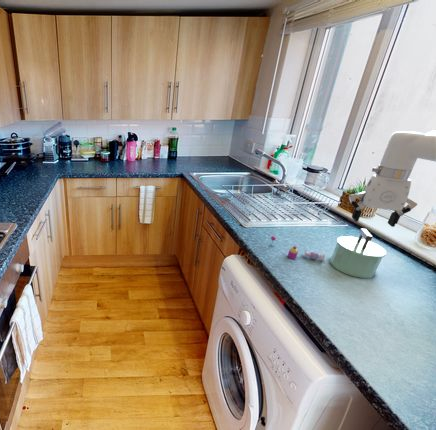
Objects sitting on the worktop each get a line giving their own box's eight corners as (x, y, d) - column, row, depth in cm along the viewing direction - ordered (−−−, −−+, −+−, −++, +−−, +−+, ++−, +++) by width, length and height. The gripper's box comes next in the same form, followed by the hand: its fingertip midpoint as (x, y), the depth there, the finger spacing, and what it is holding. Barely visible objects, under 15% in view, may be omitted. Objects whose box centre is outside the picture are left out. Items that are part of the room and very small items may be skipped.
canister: (366, 262, 107) (375, 242, 103) (379, 281, 96) (390, 260, 92) (326, 254, 111) (334, 235, 107) (335, 272, 100) (343, 251, 97)
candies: (320, 256, 110) (325, 242, 107) (323, 266, 103) (328, 252, 101) (268, 244, 117) (272, 231, 115) (268, 253, 111) (272, 239, 108)
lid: (375, 243, 104) (383, 227, 101) (392, 263, 92) (401, 246, 89) (331, 236, 108) (337, 220, 106) (341, 253, 97) (348, 237, 94)
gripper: (363, 172, 89) (344, 222, 96) (436, 179, 82) (411, 232, 89) (355, 167, 95) (338, 214, 102) (422, 172, 89) (400, 222, 96)
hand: (372, 222), depth 96 cm, fingers open, 9 cm apart
